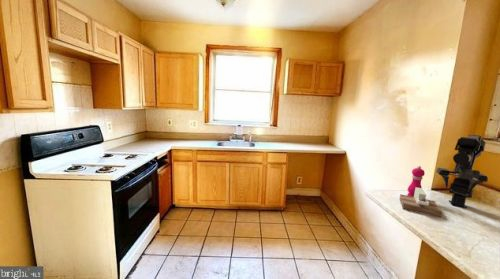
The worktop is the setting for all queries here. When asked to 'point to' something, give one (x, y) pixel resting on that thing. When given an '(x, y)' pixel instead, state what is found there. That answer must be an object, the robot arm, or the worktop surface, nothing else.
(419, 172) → the pepper mill
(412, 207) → the brown open rectangular box
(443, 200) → the worktop surface
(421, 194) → the light grey piece
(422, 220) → the worktop surface
